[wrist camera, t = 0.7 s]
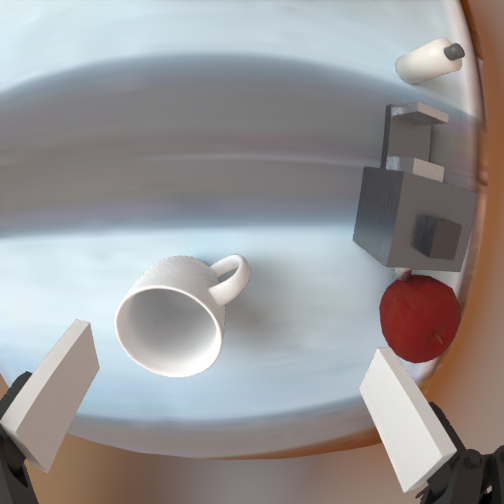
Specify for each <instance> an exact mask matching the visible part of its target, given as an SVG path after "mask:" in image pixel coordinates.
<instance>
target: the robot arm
mask: <svg viewBox="0 0 504 504" xmlns="http://www.w3.org/2000/svg"><path fill="white" fill-rule="evenodd" d="M99 368H100V367H99V363H98V359H97V355H96V350H95V346H94V341H93V336H92V331H91V325H90V322H86V321H82V320H77V319H76V320H75V321H74V322H73V324H72V325H71V326H70V327H69V328H68V330H67V331H66V332H65V333H64V334H63V336H62V337H61V338H60V339H59V341H58V342H57V343H56V344H55V345H54V347H53V348H52V349H51V351H50V352H49V353H48V354H47V356H46V357H45V358H44V359H43V361H42V362H41V363H40V365H39V366H38V367H37V369H36V370H35V371H34V373H33V374H32V373H30V372H28V371H26V372H25V373H23V374H22V375H20V376H19V377H17V379H16V380H15V381H14V383H13V384H12V385H11V387H10V388H9V389H8V391H7V394H5V395H4V397H3V398H2V399H1V401H0V504H39V503H38V501H37V498H36V495H35V493H34V490H33V487H32V484H31V482H30V478H29V475H28V472H27V469H26V466H25V464H24V460H25V459H27V460H28V461H29V462H30V463H31V465H33V466H34V467H37V468H38V469H41V470H42V471H45V472H47V473H48V472H49V469H50V467H51V465H52V462H53V460H54V458H55V456H56V453H57V451H58V449H59V447H60V445H61V442H62V440H63V438H64V436H65V434H66V432H67V430H68V428H69V426H70V424H71V422H72V420H73V418H74V416H75V414H76V412H77V410H78V408H79V406H80V404H81V402H82V400H83V398H84V396H85V394H86V392H87V390H88V388H89V387H90V385H91V383H92V381H93V379H94V377H95V375H96V374H97V372H98V370H99ZM359 390H360V392H361V394H362V397H363V399H364V401H365V403H366V405H367V408H368V410H369V412H370V414H371V416H372V419H373V421H374V423H375V425H376V428H377V430H378V432H379V435H380V437H381V439H382V441H383V444H384V446H385V448H386V451H387V453H388V455H389V458H390V460H391V462H392V465H393V467H394V470H395V472H396V474H397V477H398V479H399V482H400V484H401V487H402V489H403V492H404V493H405V492H408V491H411V490H414V489H416V488H418V487H420V486H421V485H422V484H423V483H424V482H426V481H427V482H428V484H429V485H428V486H427V487H426V488H424V489H423V490H422V491H421V492H420V493H418V494H417V496H416V498H419V497H420V496H421V495H422V494H423V497H422V498H421V502H420V504H504V445H503V446H500V447H499V448H498V449H497V450H496V451H495V452H494V453H493V454H486V455H481V454H480V453H479V452H478V451H476V450H474V449H468V450H467V449H466V448H465V447H464V445H463V443H462V442H461V440H460V438H459V437H458V435H457V434H456V432H455V430H454V429H453V427H452V426H451V425H450V423H449V421H448V420H447V419H446V416H445V415H444V413H443V412H442V410H441V409H440V408H439V407H438V406H437V405H436V404H434V403H433V402H429V403H428V402H427V401H426V399H425V397H424V396H423V394H422V393H421V391H420V390H419V388H418V387H417V385H416V384H415V382H414V381H413V379H412V378H411V376H410V375H409V373H408V372H407V370H406V369H405V367H404V366H403V364H402V363H401V362H400V360H399V359H398V357H397V356H396V354H395V353H394V351H393V350H392V349H391V347H382V348H377V350H376V352H375V355H374V357H373V359H372V362H371V364H370V366H369V369H368V371H367V373H366V375H365V377H364V380H363V382H362V384H361V386H360V388H359ZM489 486H492V491H491V492H489V493H487V488H488V487H489Z"/></svg>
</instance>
